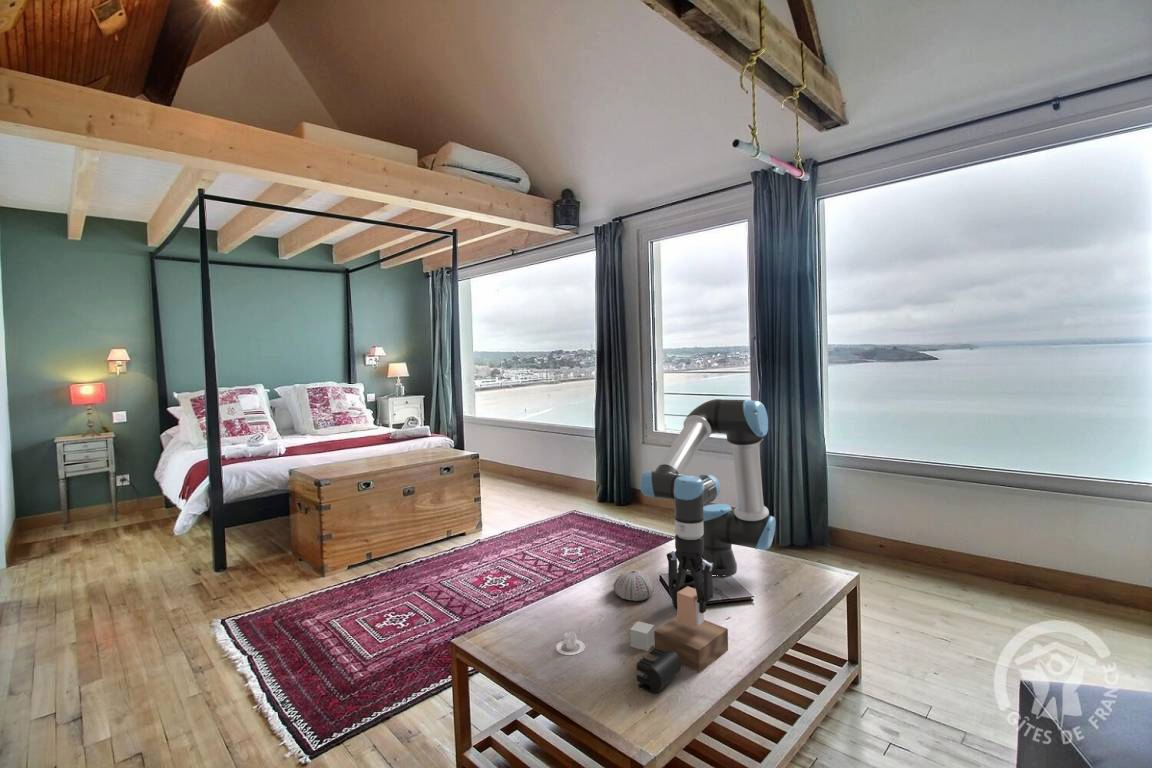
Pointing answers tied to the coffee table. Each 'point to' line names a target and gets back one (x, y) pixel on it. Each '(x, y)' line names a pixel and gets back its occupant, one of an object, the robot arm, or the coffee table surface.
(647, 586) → the sea urchin shell
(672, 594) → the mug
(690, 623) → the terracotta block
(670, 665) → the end cap
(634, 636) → the grey cube
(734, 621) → the coffee table surface
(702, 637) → the walnut block
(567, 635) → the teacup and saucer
